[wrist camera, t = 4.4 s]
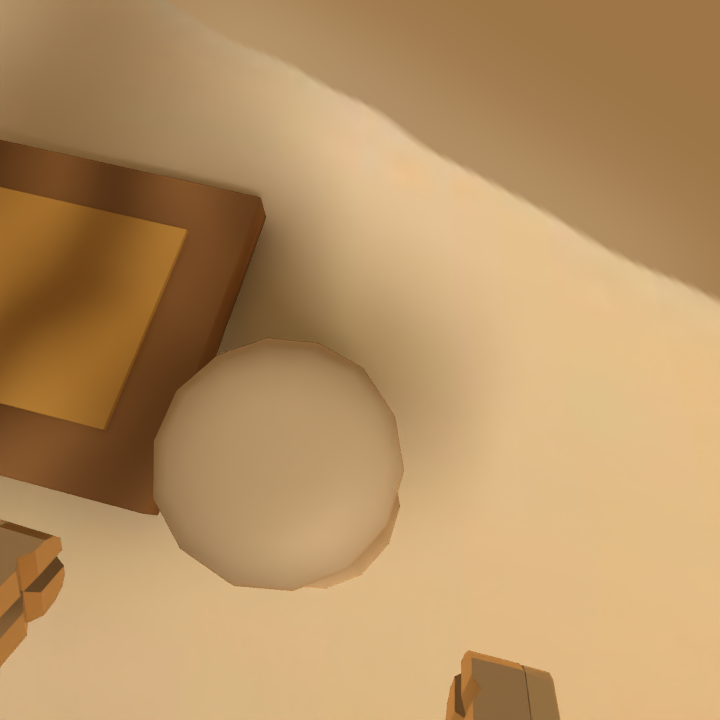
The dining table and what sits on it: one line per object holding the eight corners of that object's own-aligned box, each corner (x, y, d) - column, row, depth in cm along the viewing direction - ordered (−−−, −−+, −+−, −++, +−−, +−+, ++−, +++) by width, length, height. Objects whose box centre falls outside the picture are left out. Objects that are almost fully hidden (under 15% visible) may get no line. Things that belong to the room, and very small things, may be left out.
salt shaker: (318, 617, 19) (254, 767, 7) (215, 505, 20) (1, 457, 8) (423, 499, 20) (531, 442, 8) (321, 401, 22) (279, 223, 9)
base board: (-167, 428, 21) (-210, 419, 19) (-6, 156, 25) (-30, 130, 24) (157, 515, 20) (140, 513, 18) (265, 217, 24) (259, 194, 23)
